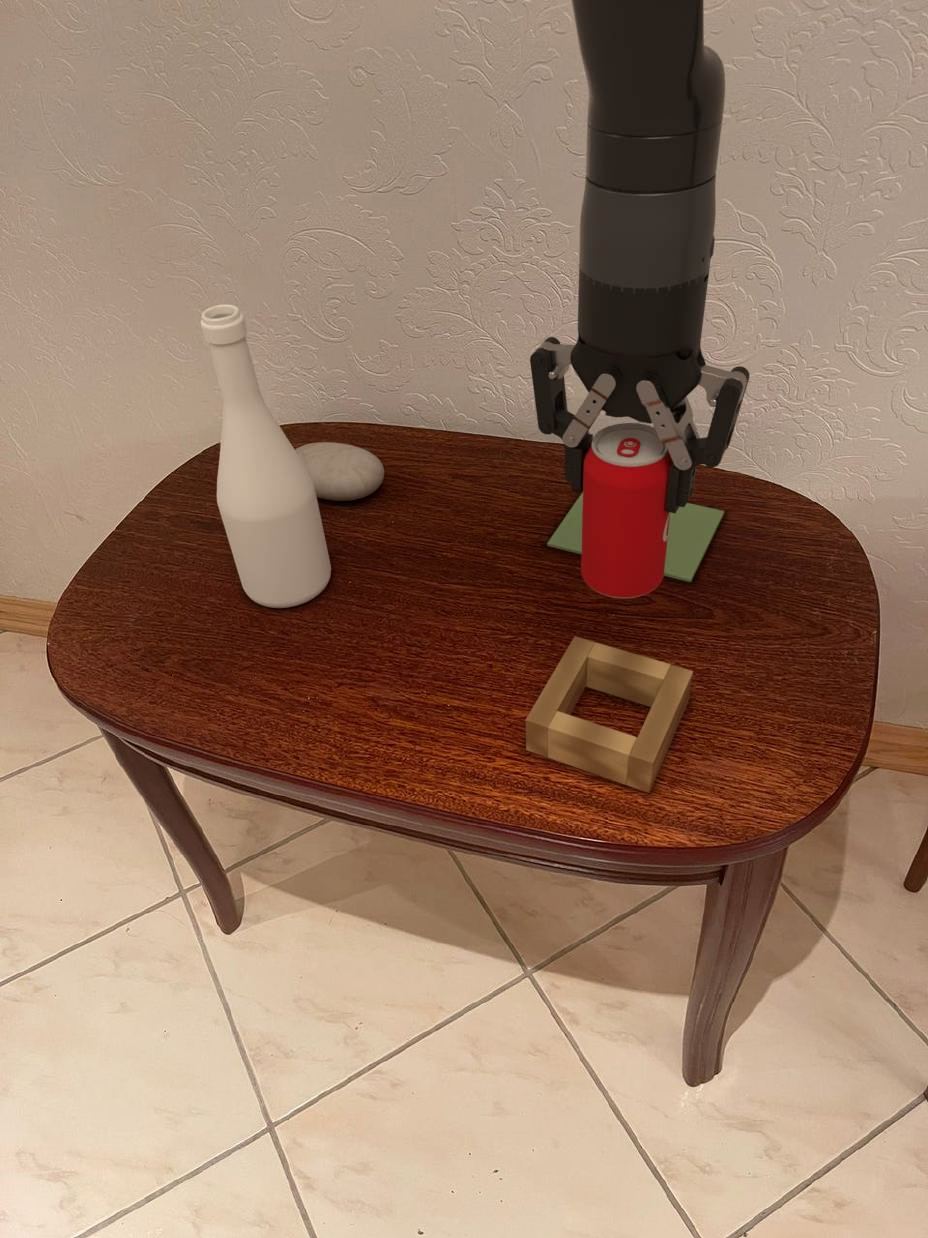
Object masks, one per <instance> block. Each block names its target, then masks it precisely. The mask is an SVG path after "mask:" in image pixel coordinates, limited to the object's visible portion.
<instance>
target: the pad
mask: <svg viewBox="0 0 928 1238" xmlns="http://www.w3.org/2000/svg"><path fill="white" fill-rule="evenodd" d="M582 511H583V492H581V494H580V495H579V497H578V498H577V499H576V501H575V502H574V504H573V505H572V507H571V508H570V510H569V511H568V512H567V514H565V517H564V518H563V520H562V521H561V523H560V524H559V525H558V527H557V528H556V530H555V531H554V533H553V534H552V536H551V537H550V539H549V540H548V541H547V543H546V546H547V547H549V548H550V547H551V548H553V549H558V550H562V551H565V552H569V553H572V554H573V553H574V554H577V555H581V554H582ZM724 515H725V510H722V509H717V508H712V507H709V506H704V505H699V504H694V503H690V502H687V504H686V505H685V507H679V508H678V510H677V512H676V513H671V512H670V521H669V530H668V540H667V550H666V559H665V569H664V577H667V578H672V579H675V580H679V581H683V582H686V583H687V582H688V583H691V582H692V581H693V579H694V576H695V575H696V572H697V571H698V569H699V567H700V565H701V562H702V560H703V558H704V557H705V555H706V552H707V550H708V549H709V546H710V544H711V542H712V540H713V538H714V535H715V534H716V532H717V529H718V528H719V526H720V523H721V521H722V519H723V517H724Z"/></svg>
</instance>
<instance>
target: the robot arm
mask: <svg viewBox="0 0 928 1238" xmlns="http://www.w3.org/2000/svg"><path fill="white" fill-rule="evenodd" d="M571 6H572V12H573V16H574V24H575V28H576V34H577V40H578V46H579V53H580V56H581V57H580V58H581V62H582V64H583V69H584V73H585V77H586V83H587V87H588V89H587V90H588V104H587V105H588V106H587V116H586V117H587V118H586V149H585V150H586V156H585V182H584V190H583V191H584V192H583V196H582V197H583V198H582V203H581V208H580V209H581V210H580V220H579V255H578V293H577V294H578V295H577V296H578V297H577V299H578V300H577V334H578V337H577V340H576V343H575V344H563V343H562V344H561V342H560V340H559V339H558V338H556V337H554V336H549V337H547V338H546V339H544V341H543V342H542V343H541V344H540V345H539V346H538V347H537V348H536V349H535V350H534V352H533V353H532V354H531V355H530V357H529V364H530V371H531V379H532V387H533V395H534V403H535V411H536V419H537V428H538V429H539V431H540V432H541V433H542V434H544V435H552V434H553V435H555V436H556V437H559V438H560V440H562V442H563V444H564V477H565V481H566V482H567V483H571V491H572V492H576V493H582V492H583V467H584V459H585V456H586V453H587V451H588V450H589V448H590V446H591V445H592V440H593V437H594V433H593V434H592V433H590V429H591V428H592V427H593V425H594V423H595V422H596V420H597V418H598V417H599V415H600V414H601V413H602V411H603V412H605V416H607V417H612V418H630V419H632V420H635V421H637V422H639V423H643V424H644V423H645V424H649V425H653V426H652V427H654V428H655V430H656V433H657V435H658V437H659V439H660V441H661V442H664V443H665V444H666V446H667V449H668V451H669V453H670V456H671V458H672V460H673V463H672V465H671V466H670V468H669V477H668V486H667V496H666V505H665V511H666V512H671V513H676V512H677V510H678V508H679V507H685V505H686V504H687V503H689V500H690V499H691V497H692V495H693V493H694V490H695V484H696V483H695V482H696V475H697V467H698V466H703V465H704V466H706V467H708V468H716V467H718V466H719V465H720V464H721V462H722V460H723V456H724V454H725V452H726V451H727V450H728V448H729V446H730V445H731V442H732V437H733V434H734V431H735V427H736V424H737V421H738V418H739V414H740V410H741V408H742V404H743V401H744V397H745V394H746V390H747V387H748V385H749V384H748V383H749V381H750V372H749V370H748V369H747V368H746V367H745V366H740V365H738V366H735V367H733V368H732V369H730V371H729V370H726V369H722V368H718V367H715V366H711V365H707V364H706V359H705V357H704V355H703V353H702V348H701V341H702V336H703V335H702V334H703V326H704V319H705V318H704V317H705V311H706V310H705V309H706V301H707V294H708V284H709V277H710V276H709V275H710V268H711V259H712V257H713V255H714V250H715V240H716V238H715V227H716V215H717V214H716V211H717V210H716V209H717V207H716V206H717V203H716V202H717V201H716V199H717V198H716V183H717V182H716V180H717V169H718V160H719V154H720V153H719V152H720V144H721V136H722V126H723V117H724V109H725V100H726V99H725V98H726V74H725V66H724V62H723V61H722V59H721V57H720V55H719V54H718V53H717V52H716V51H715V50H714V49H712V48H711V47H710V46H707V45H705V34H704V33H705V26H704V24H705V23H704V19H705V18H704V17H705V16H704V12H705V11H704V10H705V9H704V0H571ZM570 365H571V367H572V368H573V370H574V372H575V373H576V375H577V377H578V378H579V380H580V381H581V383H582V384H583V386H584V388H585V390H586V391H587V393H588V394H587V396H586V397H585V399H584V400H583V402H582V404H581V405H580V406H579V408H578V410H577V411H576V413H575V414H574V413H572V412H571V411H569V410H568V399H567V392H566V382H565V375H566V374H567V373H568V372H569V370H570ZM698 386H700V387H702V388H703V389H704V390H705V393H706V396H705V397H706V399H705V400H706V402H707V403H708V405H709V406H710V407H711V408H714V410H713V414H712V418H711V421H710V425H709V429H708V432H707V435H706V436H705V437H700V435H699V432H698V430H697V427H696V424H695V422H694V413H693V409H692V406H691V404H690V401H689V399H688V396H689V395H690V394H691V393H692V392H693V391H694V390H695V389H697V387H698Z"/></svg>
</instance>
